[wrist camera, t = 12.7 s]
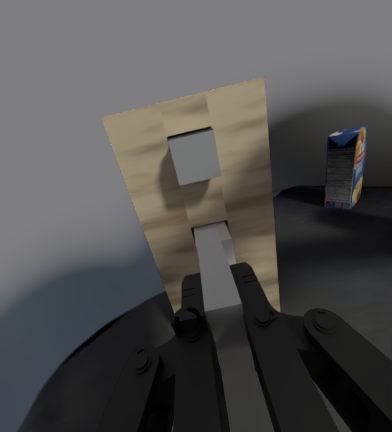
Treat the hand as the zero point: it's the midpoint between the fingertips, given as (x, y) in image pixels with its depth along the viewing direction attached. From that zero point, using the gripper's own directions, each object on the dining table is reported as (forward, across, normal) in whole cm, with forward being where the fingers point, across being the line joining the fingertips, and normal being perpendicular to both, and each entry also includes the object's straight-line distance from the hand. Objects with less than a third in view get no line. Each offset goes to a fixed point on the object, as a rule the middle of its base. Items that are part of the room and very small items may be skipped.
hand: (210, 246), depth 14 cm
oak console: (+17, 0, -27) cm, 32 cm away
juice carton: (+51, +50, -28) cm, 77 cm away
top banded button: (+10, +1, +3) cm, 11 cm away
